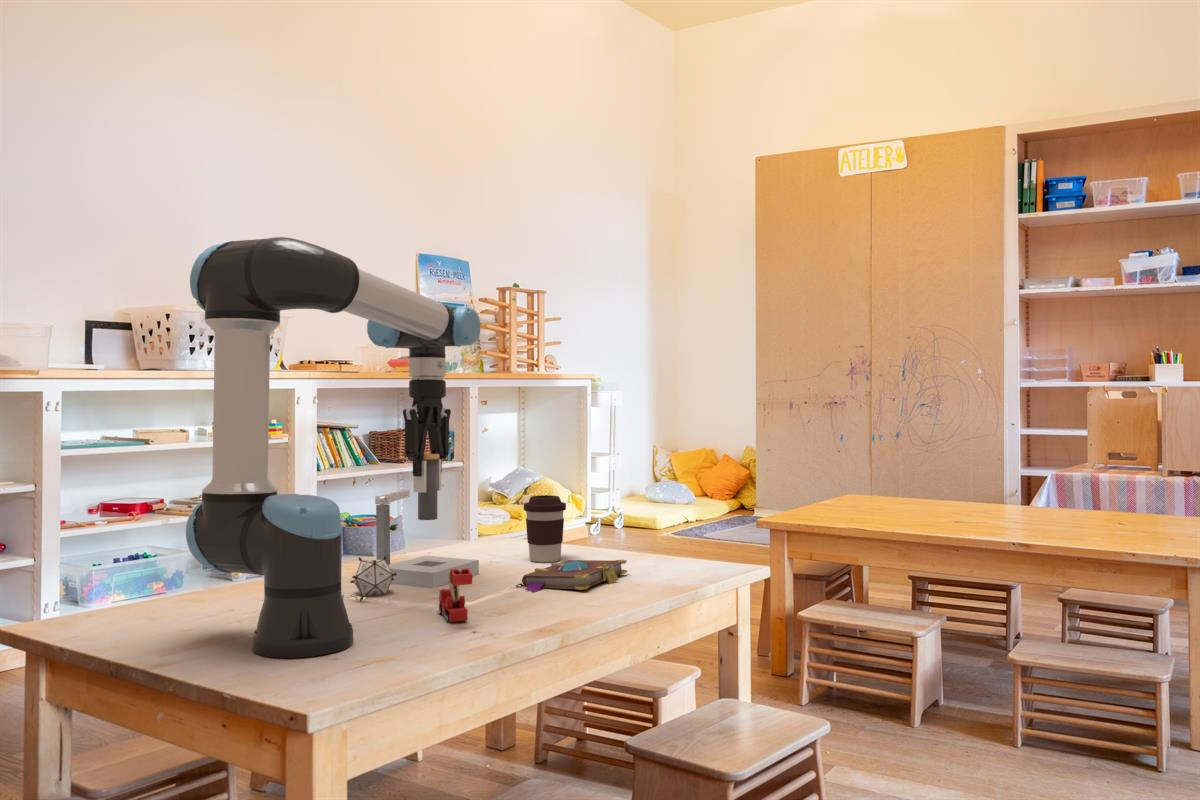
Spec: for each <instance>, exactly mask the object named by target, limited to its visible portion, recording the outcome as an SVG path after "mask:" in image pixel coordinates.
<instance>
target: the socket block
mask: <svg viewBox="0 0 1200 800" xmlns="http://www.w3.org/2000/svg"><path fill="white" fill-rule="evenodd" d="M388 566H389V568H390V570H391V571H392V573H393V574H394V573H396V574H397V575H396V576H393V578H394V580H393V581H391V583H390V585H398V586H399V585H400V586H401V585H402V586H409V587H420V588H428V589H429V588H430V589H435V588H438V587H442V586H446V585H448V584H449V578H448V576H449V572H450V569H466V568H469V569H470V571H471V573H472V577H475V576H477V575H480V567H479V566H480V563H479V559H470V558H469V559H468V558H459V557H448V556H447V557H446V556H434V555H421V556H418V557H415V558H414V557H413V558H411V559H410V558H409V559H406V560H402V561H397V562H394V563H390V564H389V565H388Z"/></svg>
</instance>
